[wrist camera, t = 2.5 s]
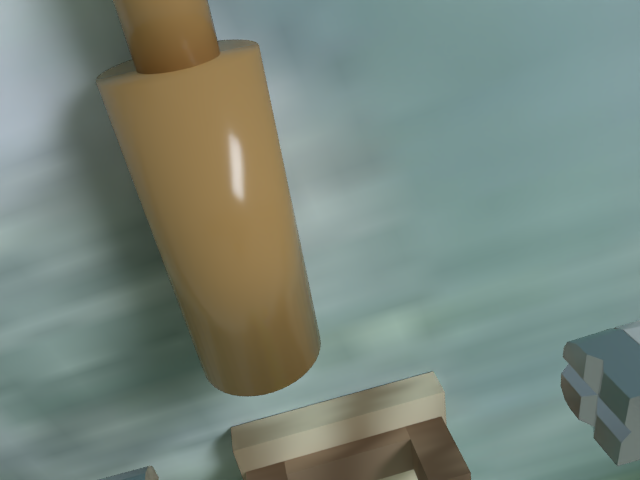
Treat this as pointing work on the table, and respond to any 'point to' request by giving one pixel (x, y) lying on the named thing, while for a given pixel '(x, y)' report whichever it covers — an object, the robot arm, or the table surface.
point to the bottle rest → (356, 438)
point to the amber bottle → (214, 192)
